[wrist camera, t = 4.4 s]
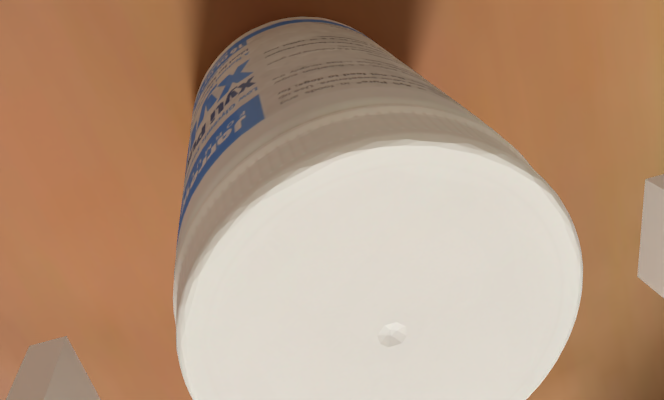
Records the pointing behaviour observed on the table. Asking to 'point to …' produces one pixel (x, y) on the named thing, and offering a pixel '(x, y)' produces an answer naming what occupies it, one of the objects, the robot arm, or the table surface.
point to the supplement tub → (360, 233)
